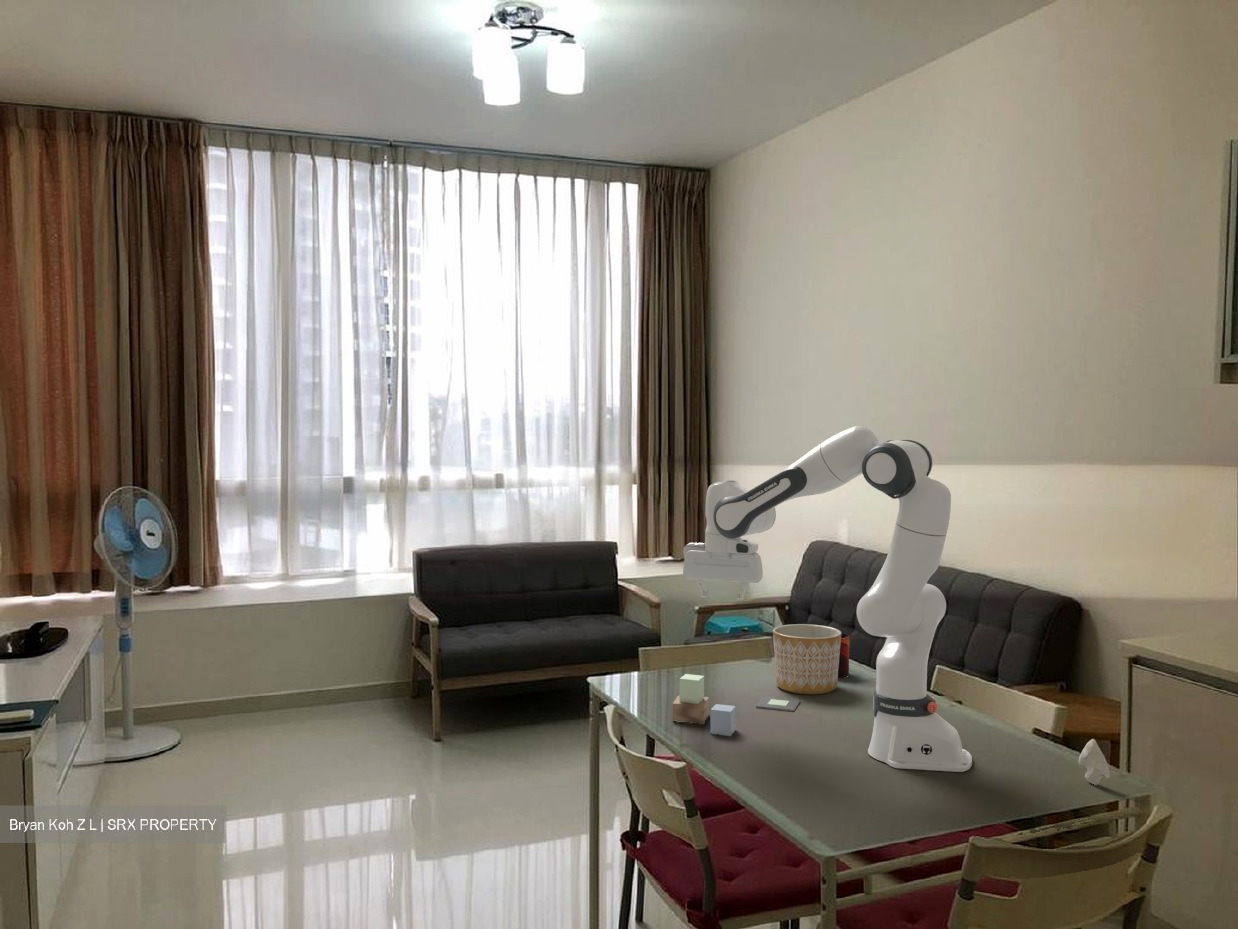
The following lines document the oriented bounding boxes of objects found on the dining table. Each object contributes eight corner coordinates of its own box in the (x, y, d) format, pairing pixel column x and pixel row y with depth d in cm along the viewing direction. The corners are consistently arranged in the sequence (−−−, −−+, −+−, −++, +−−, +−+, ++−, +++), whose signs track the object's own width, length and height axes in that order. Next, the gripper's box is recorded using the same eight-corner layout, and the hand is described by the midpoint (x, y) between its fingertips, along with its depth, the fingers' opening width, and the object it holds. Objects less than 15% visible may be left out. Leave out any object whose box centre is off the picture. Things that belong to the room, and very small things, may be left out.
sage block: (704, 699, 248) (704, 675, 247) (698, 704, 243) (698, 680, 243) (685, 696, 249) (685, 674, 249) (679, 702, 245) (679, 678, 244)
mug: (837, 666, 301) (837, 628, 300) (853, 678, 287) (854, 638, 287) (807, 667, 300) (807, 629, 299) (822, 679, 286) (823, 639, 285)
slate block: (735, 730, 237) (735, 706, 237) (730, 736, 232) (730, 711, 232) (715, 728, 239) (715, 704, 239) (710, 734, 234) (710, 709, 234)
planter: (767, 679, 286) (768, 624, 285) (832, 679, 286) (833, 624, 285) (778, 697, 267) (778, 638, 266) (847, 697, 266) (848, 638, 266)
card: (800, 701, 262) (800, 699, 262) (793, 711, 252) (793, 709, 252) (764, 698, 265) (764, 695, 265) (756, 707, 256) (756, 705, 256)
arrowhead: (1073, 779, 204) (1074, 733, 203) (1082, 778, 205) (1083, 731, 204) (1104, 793, 196) (1105, 744, 196) (1114, 791, 197) (1115, 743, 197)
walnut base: (708, 716, 249) (708, 697, 249) (703, 725, 242) (703, 705, 241) (678, 714, 251) (678, 695, 251) (672, 723, 244) (672, 703, 243)
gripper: (679, 543, 245) (679, 597, 246) (758, 547, 238) (758, 602, 238) (687, 541, 251) (686, 593, 252) (764, 544, 244) (763, 598, 244)
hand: (722, 598), depth 245 cm, fingers open, 8 cm apart
